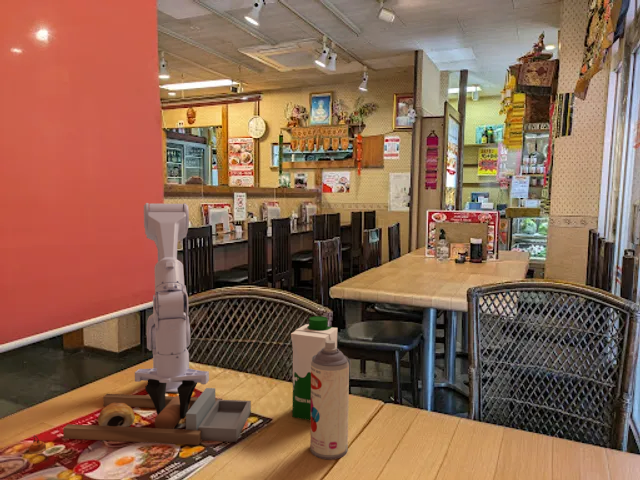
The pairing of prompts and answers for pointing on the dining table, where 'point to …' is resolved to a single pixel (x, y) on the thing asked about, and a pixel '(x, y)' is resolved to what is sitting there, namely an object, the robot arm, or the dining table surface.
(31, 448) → the round teapot
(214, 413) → the cradle
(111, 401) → the rail
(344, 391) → the aerosol can
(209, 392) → the block
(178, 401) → the roller
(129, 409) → the pastry
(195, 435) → the rail
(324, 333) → the milk carton
